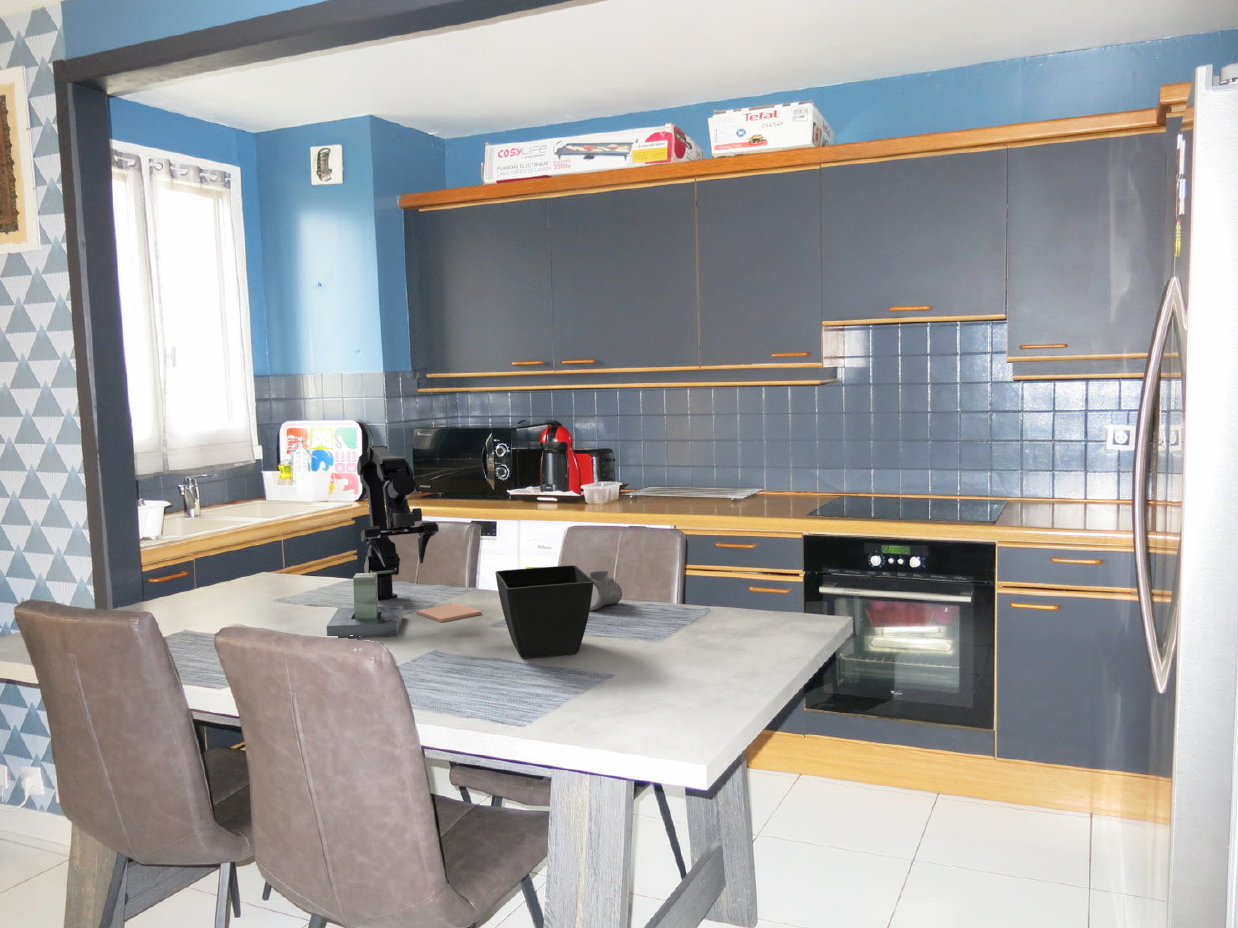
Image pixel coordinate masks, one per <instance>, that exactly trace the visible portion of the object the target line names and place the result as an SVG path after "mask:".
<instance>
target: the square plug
mask: <svg viewBox="0 0 1238 928" xmlns="http://www.w3.org/2000/svg"><path fill="white" fill-rule="evenodd" d="M352 579H353V580H352V581H353V605H354V606H353V608H354V615H355V619H371V618H378V607H379V600H378V591H377V573H365V572H364V573H363V572H362V573H359V572H358V573H355V575H354V576H353V577H352Z"/></svg>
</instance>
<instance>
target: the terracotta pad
mask: <svg viewBox="0 0 1238 928" xmlns="http://www.w3.org/2000/svg"><path fill="white" fill-rule="evenodd" d="M415 612H416V613H415V614H417V615H420V616H421V617H422V616H423V617H425V618H427V619H428V618H429V619H431V620H434V621H436V622H439V623H445V622H450V621H454V620H459V619H464V618H470V617H474V616H479V615H482V610H480V609H479V610H478V609H475V608H472V607H469V606H466V605H464V604H460V603H452V604H445V605H441V606H435V607H430V608H429V607H428V608H424V609H417V610H416V611H415Z"/></svg>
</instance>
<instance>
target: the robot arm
mask: <svg viewBox="0 0 1238 928" xmlns="http://www.w3.org/2000/svg"><path fill="white" fill-rule="evenodd" d="M356 472H357V473H356V474H357V475H358V476H359V480H360V484H361V485H362V486H363V488H364V489H365V490H366V492H367V501H368V513H369V521H370V522H369V523H370V526H365V527H364V529H362V531H361V533H360V538H361V539H360V541H361V542H362V543H365V542H366V545H368V546H369V547H368V549H367V555H366V556H365V562H364V566H363V570H364V573H377V591H378V601H379V600H385V599H391V598H395V597H399V596H398V594H396V593H394V592H393V588H394V587H393V576H398V575H399V574H400V564H401V557H400V556H399V553H397V549H396V548H397V546H396V544H395V542H394V541H393V542H392V540H391V539H390V537H394V536H395V537H396V536H407V535H418V536H419V538H417V539H418V540H417V543H418V556H419V557H418V558H419V564H420V565H422V564H423V563H424V560H425V559H424V558H425V554H426V550H427V546H428V542H429V541H430V540H431V539H432V538H434V537H435V536H436V535H437V534H438V533H440V532H439V531H440V530H439V524H438V522H436V521H429V522H422V521H423V512H422V508H420V507H418V508H416V507H415V508H412V511H411V506H410V505H409V500H408V499H409V497H410V496H411V495H412V494H413V492H414V491H415V489H416V487H417V485H416V484H417V483H416V480H415V479H414V475H415V473H414V471H413V469H412V467H411V466H410V463H409V461H407V459H406V458H405V457H404V456H396V455H394V454H393V453H392V452H391V451H390V450H389V449H388V446H387V445H384V444H383V445H382V444H380V445H378V444H377V445H374V444H373V445H369V446H368V447H367V450H366V451H365V452H363V453H362V454H361V455H359V456H358V460H357V463H356ZM386 482H387V484H386ZM385 484H386V485H385ZM417 522H421V524H420V525H418V526H416V523H417Z"/></svg>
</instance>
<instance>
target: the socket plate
mask: <svg viewBox="0 0 1238 928" xmlns="http://www.w3.org/2000/svg"><path fill="white" fill-rule="evenodd" d="M403 620H404V605H389V606H388V605H387V606H386V605H385V606H378V618H371V619H355V615H354V607H338V608H337V609H336V611H335V613H334V614H333V615H332V618H331V619H330V621H329V622H328V623H327V625H326V637H327V636H338V637H348V638H347V639H349V638H351V639H352V638H360V637H359V636H362V637H361V638H372V637H373V638H374V637H375V638H376V637H396V636H398V634H399V632H400V628H401V626H402V622H403ZM350 635H353V636H350Z"/></svg>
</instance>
